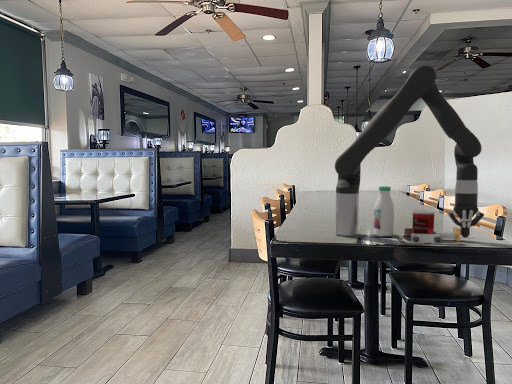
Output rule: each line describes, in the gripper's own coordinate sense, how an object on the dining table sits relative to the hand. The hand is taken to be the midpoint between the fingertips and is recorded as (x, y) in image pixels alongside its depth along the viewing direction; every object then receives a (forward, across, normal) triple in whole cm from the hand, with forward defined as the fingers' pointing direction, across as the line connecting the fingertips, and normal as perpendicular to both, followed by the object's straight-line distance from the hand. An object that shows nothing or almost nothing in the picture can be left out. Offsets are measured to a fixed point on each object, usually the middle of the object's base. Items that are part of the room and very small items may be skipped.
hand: (464, 236), depth 149 cm
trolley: (+1, -13, 0) cm, 13 cm away
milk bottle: (+1, -29, +8) cm, 30 cm away
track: (+1, -9, 0) cm, 9 cm away
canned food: (+2, -15, 0) cm, 15 cm away
